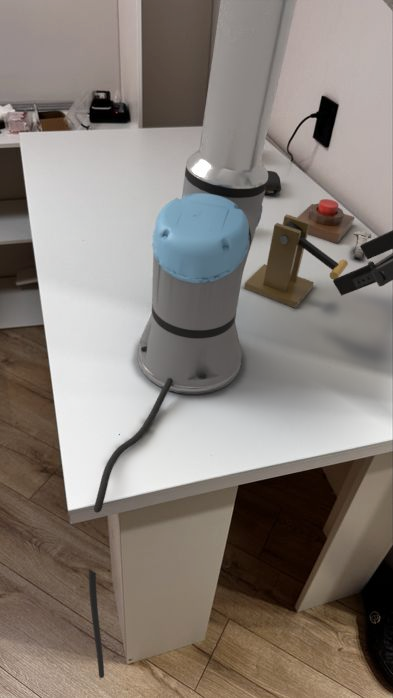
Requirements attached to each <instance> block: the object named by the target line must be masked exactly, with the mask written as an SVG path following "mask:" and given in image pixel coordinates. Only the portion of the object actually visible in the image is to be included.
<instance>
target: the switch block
mask: <svg viewBox="0 0 393 698" xmlns="http://www.w3.org/2000/svg"><path fill="white" fill-rule="evenodd" d="M318 206H319V203H311V204H310V205H309V206H308V207H307V208H306V209H304V210H303V212H301V213H300V214H299V215H298V216H297V218H300V219H303V220H306V221H309V222H310V226H309V230H308V235H310V236H313V237H317V238H319V239H322V240H325V241H328V242H331V243H333V244H338V243H339V242H340V241H341V239H342V238H343V237H344V236H345V235H346V234H347V232H348V231H349V230H350V229H351V228H352V227H353V224H354V220H355V216H352V215H349V214H347V213H344V211H343V209H342V208H340V207H338V209H337V213H336V215H332V216H331V215H324V214H321V213H319V212H318Z"/></svg>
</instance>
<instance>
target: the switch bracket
mask: <svg viewBox="0 0 393 698" xmlns="http://www.w3.org/2000/svg"><path fill="white" fill-rule="evenodd" d="M297 217H298V216H297ZM297 217H296V216H293V215H290V214H285V215H284V216H283V221H282V223H279V222H276V223H275V224H274V226H273V229H272V230H273V231H272V235H271V240H270V246H269V250H268V251H269V252H268V256H267V260H266V261H267V262H266V264H263V265H262V266H261V267H260V268H259V269H258V270H257V271H256V272H255V273H254V274H253V275H252V276H250V278H248V279H247V280H246V281H245V282H244V289H245V290H248V291H250V292H253V293H255V294H258V295H260V296H263V297H266V298H268V299H271V300H273V301H276V302H279V303H280V304H281V303H282V304H284V305H286V306H288V307H291V308H294V309H297V307H298V306H299V305H300V304H301V303H302V301H304V299H305V297H307V296H308V294H309V293H310V292H311V290H312V289H313V288H314V284H315V282H314V281H311V280H310V279H307V278H304V277H301V276H299V273H300V268H301V265H302V259H303V255H304V251H305V249H304V248H303V247H301V246H300V245H299V240H300V235H301V236H302V237H303V238H305V239H306V240H308V239H307V238H308V235H309V234H308V230H309V226H310V222H309V221H306V220H303V219H300V218H297ZM289 221H291V222H293V223H294V224H295V225H297V226H298V227H299V228H301V229H302V230H303V232H302V233H301V231H300V230H297V229H294V228H291V227H288V226H285V225H286V224H287V223H288V222H289Z"/></svg>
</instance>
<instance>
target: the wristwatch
mask: <svg viewBox="0 0 393 698" xmlns="http://www.w3.org/2000/svg"><path fill="white" fill-rule="evenodd" d="M353 235H354V236H356V243H355V245H354V246H355V248H354V250H353V252H352V258H355V259H356V258H357V259H359V260H360V259H362V257H363V254H364V253H363V251H362V249H361V247H360V246H361V244H364V243H366V242H368V239H372V238H373V237H372V234H370V233H369V232H365V231H359V230H358V231H355V232H353Z"/></svg>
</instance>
